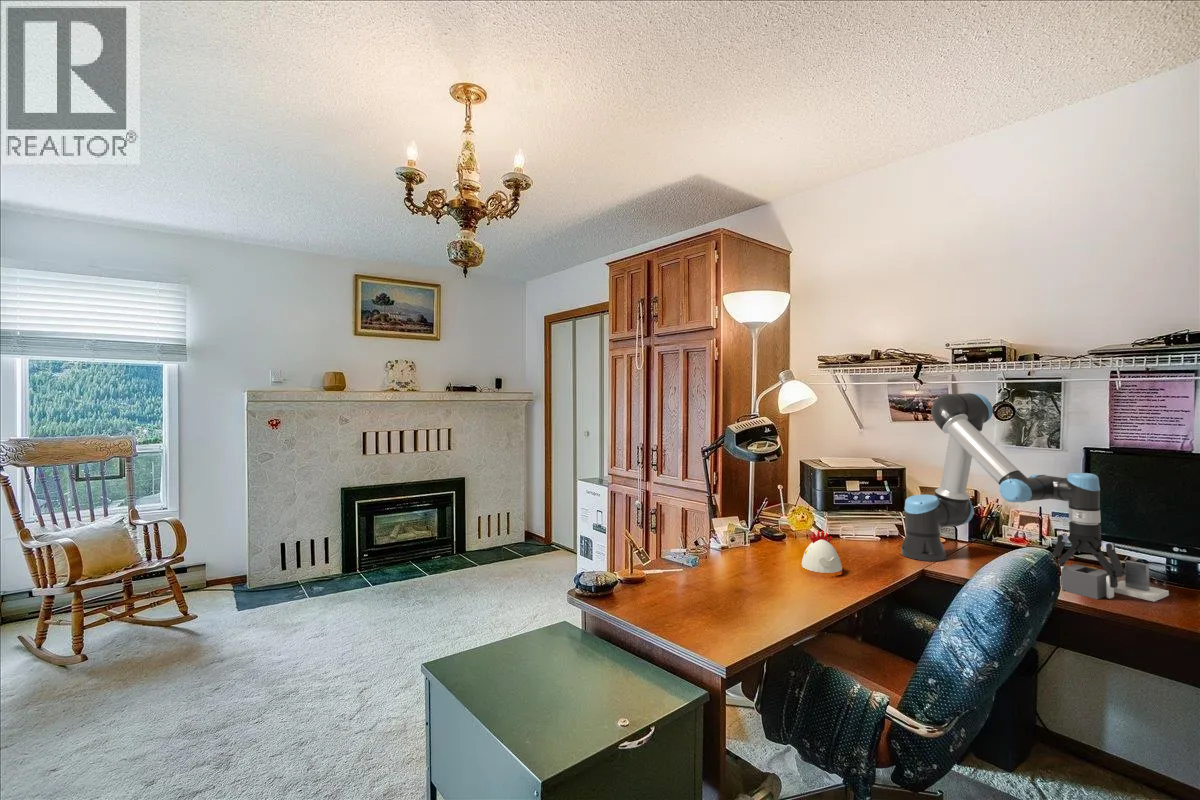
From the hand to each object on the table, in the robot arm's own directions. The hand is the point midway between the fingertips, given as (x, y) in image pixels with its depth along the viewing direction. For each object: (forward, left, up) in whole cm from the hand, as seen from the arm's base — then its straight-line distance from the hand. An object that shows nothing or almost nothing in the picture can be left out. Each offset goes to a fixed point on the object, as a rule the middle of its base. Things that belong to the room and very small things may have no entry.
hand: (1086, 591), depth 173 cm
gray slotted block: (0, 0, 0) cm, 0 cm away
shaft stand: (+8, +12, 0) cm, 14 cm away
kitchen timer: (-57, -53, -1) cm, 78 cm away
